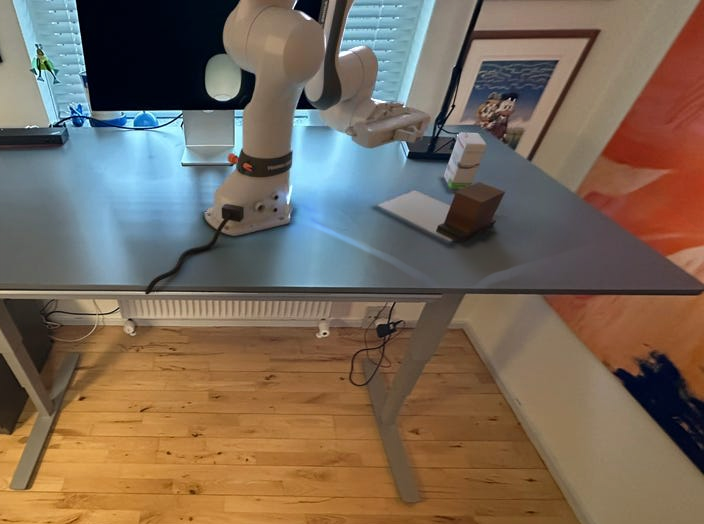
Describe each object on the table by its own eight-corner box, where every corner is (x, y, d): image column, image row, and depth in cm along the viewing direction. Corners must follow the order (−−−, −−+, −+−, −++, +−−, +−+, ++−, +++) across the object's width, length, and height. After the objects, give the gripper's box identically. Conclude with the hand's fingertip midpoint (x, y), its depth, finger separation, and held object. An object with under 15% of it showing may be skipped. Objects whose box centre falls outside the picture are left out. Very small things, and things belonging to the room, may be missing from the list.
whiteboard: (448, 245, 89) (450, 241, 89) (375, 208, 102) (376, 205, 101) (487, 226, 94) (489, 222, 93) (413, 193, 107) (414, 189, 106)
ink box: (468, 193, 105) (488, 144, 97) (448, 192, 106) (466, 144, 98) (461, 179, 111) (479, 131, 103) (441, 178, 112) (458, 131, 103)
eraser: (459, 243, 88) (475, 205, 82) (435, 231, 92) (449, 194, 85) (493, 226, 92) (511, 189, 86) (469, 215, 96) (485, 179, 90)
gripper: (343, 115, 94) (390, 132, 86) (404, 99, 101) (452, 113, 93) (338, 144, 98) (382, 163, 90) (396, 127, 106) (442, 143, 98)
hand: (418, 138), depth 92 cm, fingers closed
